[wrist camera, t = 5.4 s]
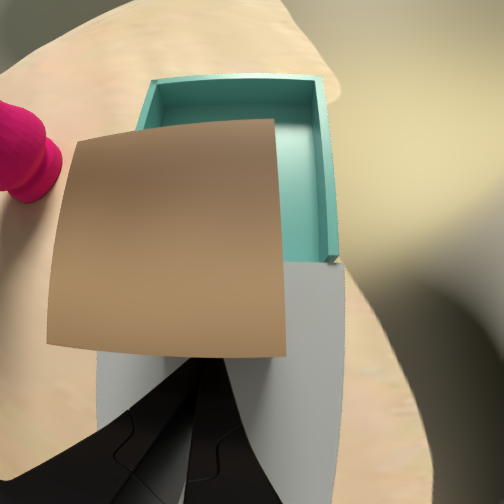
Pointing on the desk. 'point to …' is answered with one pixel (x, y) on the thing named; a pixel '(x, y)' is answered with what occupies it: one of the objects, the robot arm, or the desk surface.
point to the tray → (287, 143)
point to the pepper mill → (26, 155)
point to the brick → (172, 244)
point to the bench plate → (269, 386)
